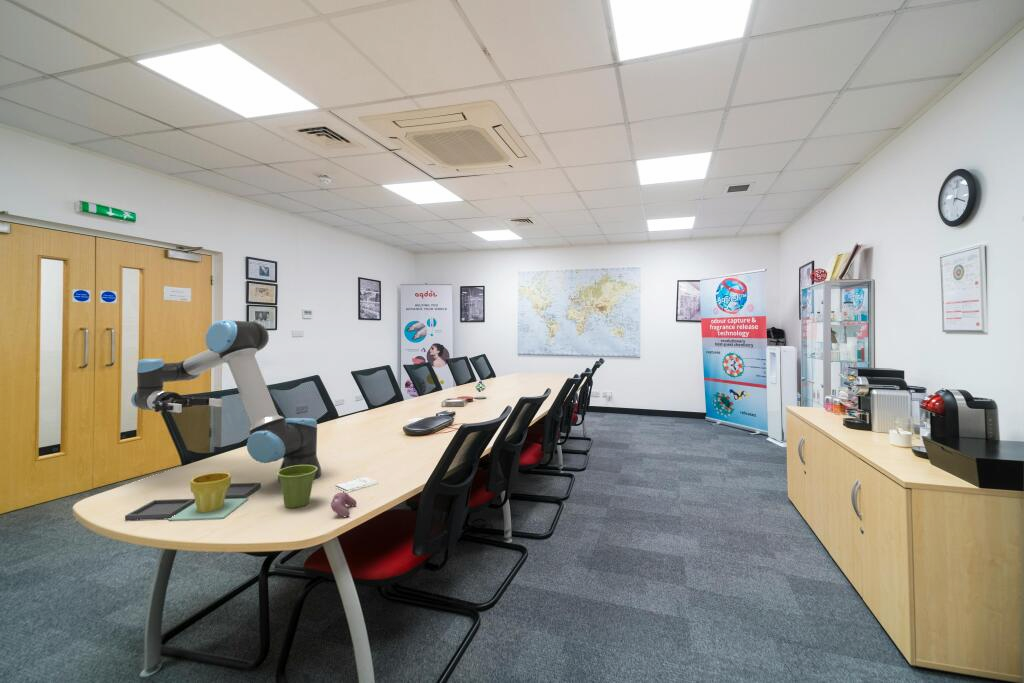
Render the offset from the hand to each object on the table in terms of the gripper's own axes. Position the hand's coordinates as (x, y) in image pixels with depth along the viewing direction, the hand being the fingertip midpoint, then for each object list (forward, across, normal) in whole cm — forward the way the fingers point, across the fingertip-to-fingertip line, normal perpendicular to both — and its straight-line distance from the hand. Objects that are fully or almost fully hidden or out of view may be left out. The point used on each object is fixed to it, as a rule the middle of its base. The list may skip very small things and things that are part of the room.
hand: (201, 405), depth 147 cm
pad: (+21, +9, -30) cm, 38 cm away
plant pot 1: (+21, +9, -30) cm, 37 cm away
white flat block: (+46, -26, -31) cm, 62 cm away
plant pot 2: (+41, -5, -30) cm, 51 cm away
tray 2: (+14, -3, -30) cm, 33 cm away
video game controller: (+59, -6, -30) cm, 67 cm away
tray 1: (+8, +16, -30) cm, 35 cm away
